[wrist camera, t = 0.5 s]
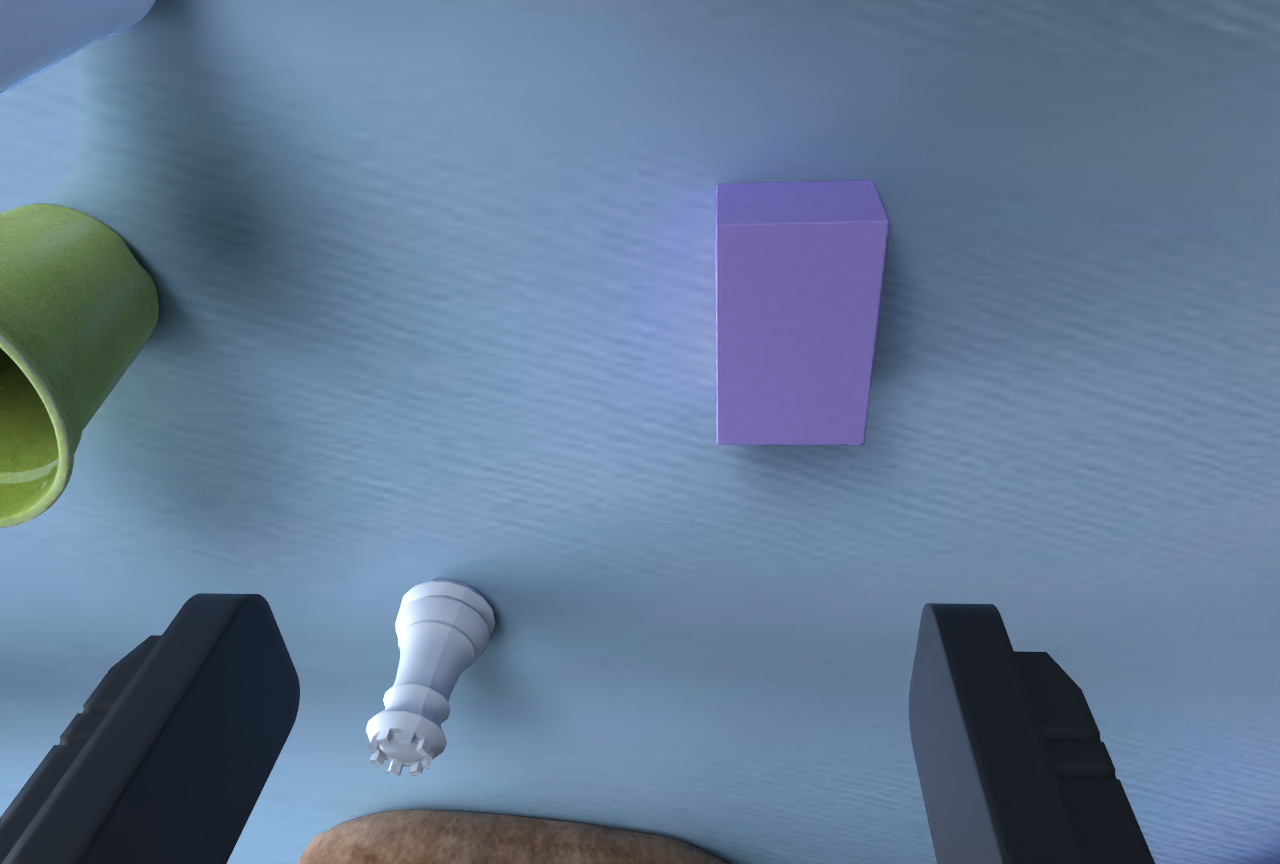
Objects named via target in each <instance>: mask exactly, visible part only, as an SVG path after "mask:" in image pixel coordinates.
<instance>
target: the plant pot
mask: <svg viewBox="0 0 1280 864" xmlns="http://www.w3.org/2000/svg"><path fill="white" fill-rule="evenodd" d="M158 317H159V302H158V295H157V290H156V287H155V284H154V282H153V279H152V277H151V276H150V274H149V273H147V272H146V271H145V270H144V269H143V268H142V267H141V265H140V264H139V263H138V262H137V260H136V259H135V258H134V256H133V255H132V253H131V252H130V250H129V249H128V247H127V245H126V243H125V241H124V240H123V238H122V237H121V236H120V235H118V234H117V233H116V232H115V231H113V230H112V229H111V228H109V227H108V226H106V225H105V224H103V223H102V222H100V221H98V220H97V219H95V218H93V217H91V216H89V215H87V214H85V213H83V212H80V211H77V210H75V209H72V208H68V207H64V206H59V205H53V204H41V203H40V204H30V205H25V206H20V207H17V208H14V209H10V210H7V211H4V212H1V213H0V528H4V527H11V526H15V525H18V524H22V523H24V522H27V521H29V520H31V519H34V518H35V517H37V516H39V515H41V514H42V513H43V512H45V511H46V510H47V509H48V508H50V507H51V506H52V505H53V504H54V503H55V502H56V501H57V499H58V498H59V497H60V495H61V494H62V493H63V491H64V490H65V488H66V486H67V484H68V482H69V480H70V477H71V474H72V469H73V462H74V453H75V451H76V449H77V447H78V445H79V442H80V439H81V435H82V431H83V429H84V428H85V427H86V425H87V424H88V422H89V421H90V420H91V418H92V417H93V415H94V414H95V413H96V411H97V410H98V408H99V407H100V406H101V404H102V403H103V401H104V400H105V399H106V397H107V396H108V395H109V393H110V392H111V390H112V389H113V388H114V386H115V385H116V383H117V382H118V381H119V379H120V378H121V376H122V375H123V374H124V372H125V371H126V370H127V368H128V367H129V366H130V364H131V363H132V362H133V360H134V359H135V358H136V356H137V355H138V353H139V352H140V351H141V349H142V348H143V347H144V345H145V344H146V342H147V341H148V340H149V338H150V337H151V335H152V333H153V332H154V330H155V328H156V325H157V322H158Z"/></svg>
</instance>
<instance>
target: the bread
mask: <svg viewBox="0 0 1280 864" xmlns="http://www.w3.org/2000/svg"><path fill="white" fill-rule="evenodd" d="M299 864H728V863H726V862H724V861H722V860H720V859H718V858H716V857H714V856H712V855H710V854H708V853H706V852H704V851H702V850H700V849H698V848H696V847H694V846H691V845H689V844H686V843H683V842H681V841H678V840H675V839H671V838H667V837H662V836H657V835H652V834H646V833H640V832H633V831H627V830H621V829H615V828H609V827H603V826H598V825H592V824H584V823H575V822H565V821H555V820H545V819H537V818H528V817H519V816H510V815H501V814H491V813H481V812H468V811H448V810H414V809H412V810H394V811H387V812H380V813H374V814H370V815H366V816H362V817H358V818H355V819H352V820H349V821H346V822H343V823H341V824H339V825H337V826H335V827H333V828H332V829H330V830H328V831H326V832H323V833H321V834H319V835H317V836H314V837H313V839H312V840H311V842H310V843H309V845H308V847H307V848H306V850H305V851H304V853H303V854H302V856H301V857H300V860H299Z"/></svg>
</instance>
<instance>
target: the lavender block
mask: <svg viewBox="0 0 1280 864" xmlns="http://www.w3.org/2000/svg"><path fill="white" fill-rule="evenodd" d="M888 231H889V220H888V217H887V215H886V212H885V210H884V207H883V205H882V202H881V200H880V197H879V195H878V192H877V190H876V187H875V185H874V182H873V181H872V180H856V181H817V182H777V183H738V184H718V185H717V186H716V415H717V444H719V445H863V444H864V441H865V432H866V423H867V415H868V406H869V397H870V388H871V380H872V371H873V362H874V353H875V345H876V336H877V327H878V318H879V309H880V301H881V292H882V283H883V274H884V266H885V257H886V248H887V239H888Z"/></svg>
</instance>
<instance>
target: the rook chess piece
mask: <svg viewBox="0 0 1280 864" xmlns="http://www.w3.org/2000/svg"><path fill="white" fill-rule="evenodd" d="M494 626H495V619H494V614H493V610H492V608H491V607H490V605H489V604H488V602H487V601H486V600H485V598H484V597H483V596H482V595H481V593H480V592H478V591H477V590H475V589H474V588H472V587H471V586H469V585H467V584H465V583H461V582H458V581H455V580H452V579H434V580H431V581H428V582H424V583H421V584H419V585H416V586H414V587H413V588H412V589H410V590H409V591H408V592H407V593H406V594H405V595H404V596H403V599H402V603H401V606H400V610H399V613H398V616H397V620H396V633H397V636H398V639H399V641H398V645H399V648H400V651H401V657H400V662H399V667H398V672H397V677H396V680H395V683H394V686H393V687H392V688H391V689H389V690H388V691H387V692H386V693H385V696H384V700H383V701H384V704H385V707H386V709H385V710H384V711H382V712H380V713H378V714H377V715H376V716H374V717H373V718H372V719H371V720H369V721H368V725H367V728H366V732H367V734H368V737H369V740H370V742H371V743H370V746H369V749H368V752H367V753H373V754H372V757H371V759H370V760H371V761H372V762H373V763H374V764H375V765H376V766H377V767H379V766H381V765H382V764H383V762H384V759H385V760H387V761H389V762H391V764H390V767H389V770H388V773H391V774H394V775H398V776H400V773H401V770H402V767H403V766H410V770H409V773H410V775H411V776H415V775H420V774H422V771H423V768H426V769H429V766H430V763H431V760H432V759H434V758H435V757H436V756H438V755H439V754H441V753H442V752H443V751H444V749H445V746H446V743H447V742H446V739H445V735H444V732H443V730H442V728H441V726H440V725H441V723H442V722H444V721H445V720H446V719H448V716H449V714H450V707H449V704H448V701H449V698H450V695H451V693H452V690H453V688H454V686H455V684H456V682H457V680H458V678H459V676H460V674H461V673H462V671H463V670H465V669H466V668H467V667H468V666H470V665H471V664H472V662H473V661H474V660H475V659H476V658H478V657H479V656H480V655H481V654H482V653H483V652H484V650H485V649H486V646H487V644H488V641H489V638H490V635H491V633H492V631H493V628H494Z"/></svg>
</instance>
